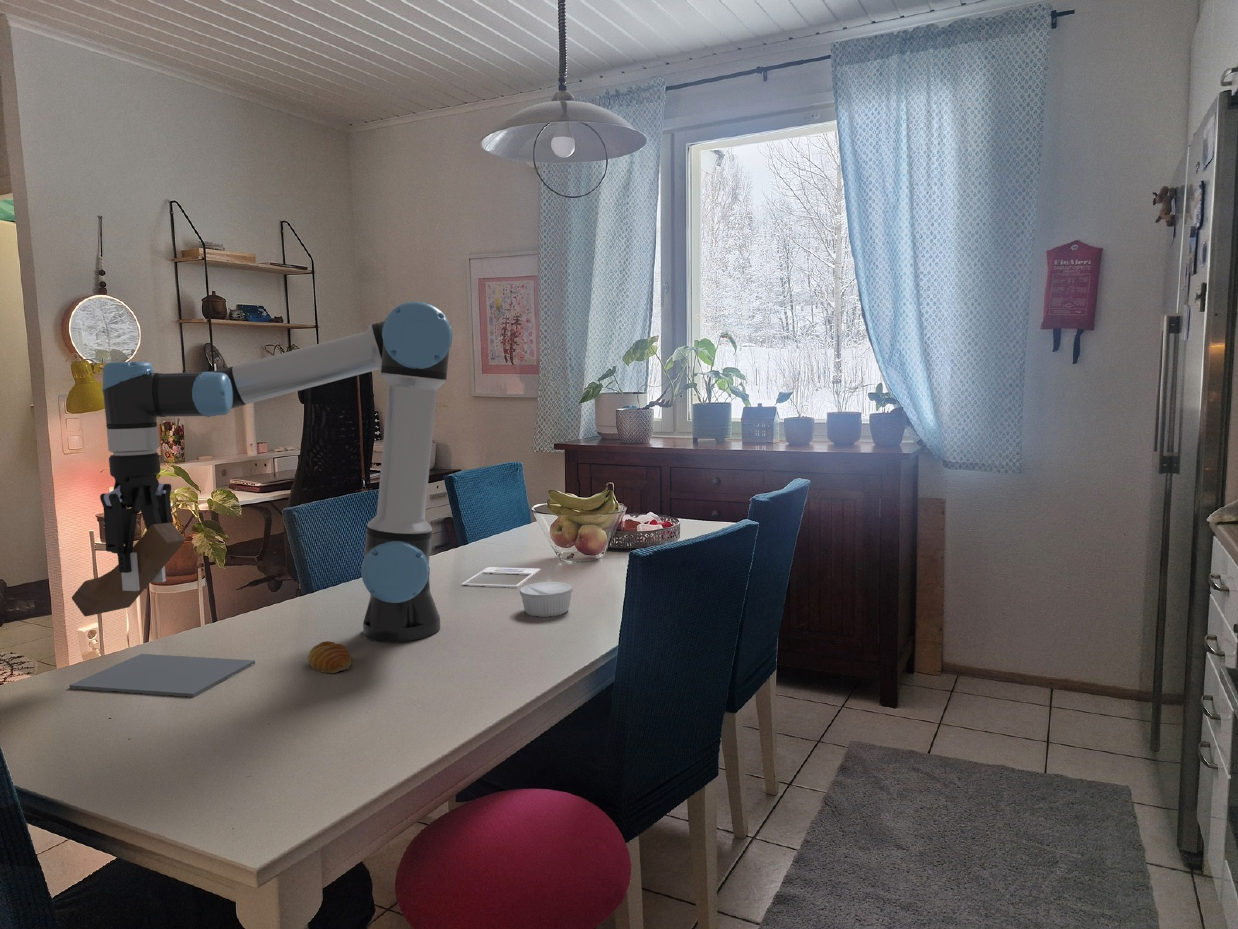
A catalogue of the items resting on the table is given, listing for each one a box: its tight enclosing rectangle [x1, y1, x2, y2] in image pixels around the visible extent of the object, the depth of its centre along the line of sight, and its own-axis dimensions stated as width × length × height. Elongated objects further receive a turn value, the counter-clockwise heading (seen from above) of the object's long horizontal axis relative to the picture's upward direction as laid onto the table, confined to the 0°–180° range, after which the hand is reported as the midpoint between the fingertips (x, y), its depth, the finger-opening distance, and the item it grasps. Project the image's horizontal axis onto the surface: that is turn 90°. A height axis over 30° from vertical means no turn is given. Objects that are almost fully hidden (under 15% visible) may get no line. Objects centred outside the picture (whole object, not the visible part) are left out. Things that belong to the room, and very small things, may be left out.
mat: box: [69, 653, 256, 698], centre depth 147 cm, size 24×16×1 cm, turn 78°
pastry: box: [307, 640, 352, 674], centre depth 150 cm, size 9×7×4 cm
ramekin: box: [519, 581, 573, 618], centre depth 182 cm, size 11×11×5 cm
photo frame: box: [460, 566, 542, 589], centre depth 213 cm, size 15×1×18 cm
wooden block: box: [71, 523, 186, 617], centre depth 144 cm, size 9×4×18 cm
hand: (144, 585), depth 146 cm, fingers closed on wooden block, 5 cm apart
